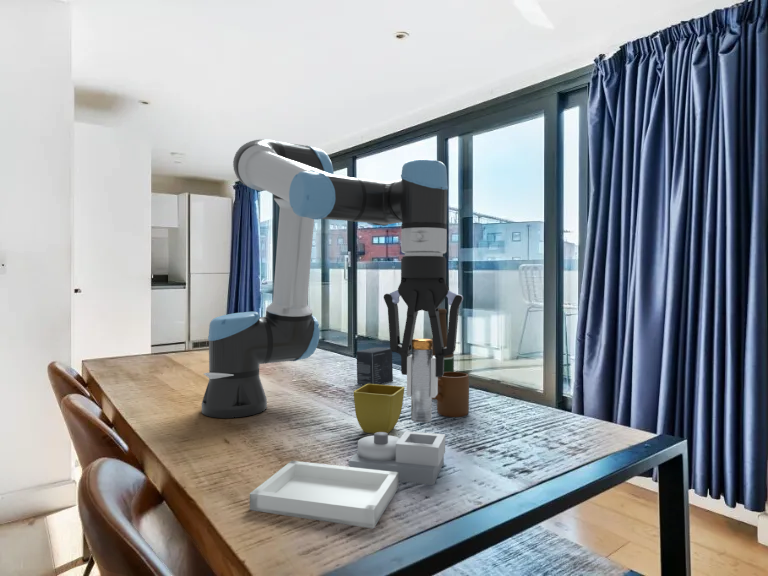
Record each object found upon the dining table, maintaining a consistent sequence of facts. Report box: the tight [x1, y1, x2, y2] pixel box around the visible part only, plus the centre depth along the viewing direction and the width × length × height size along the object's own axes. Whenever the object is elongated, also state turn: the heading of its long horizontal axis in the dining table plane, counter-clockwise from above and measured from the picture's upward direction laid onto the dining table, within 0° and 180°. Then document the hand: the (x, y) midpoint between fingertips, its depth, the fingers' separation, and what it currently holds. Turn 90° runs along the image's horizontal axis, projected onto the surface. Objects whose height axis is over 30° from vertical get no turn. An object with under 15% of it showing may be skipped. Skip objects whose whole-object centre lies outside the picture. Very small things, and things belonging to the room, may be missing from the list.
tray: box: [249, 460, 399, 529], centre depth 73 cm, size 18×13×2 cm
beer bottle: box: [431, 307, 455, 372], centre depth 138 cm, size 8×8×24 cm
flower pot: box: [352, 384, 406, 434], centre depth 106 cm, size 9×9×9 cm
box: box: [355, 346, 394, 386], centre depth 154 cm, size 11×7×10 cm, turn 144°
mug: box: [432, 371, 470, 418], centre depth 119 cm, size 12×8×9 cm, turn 121°
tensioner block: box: [348, 430, 446, 486], centre depth 85 cm, size 14×10×6 cm
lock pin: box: [410, 338, 433, 424], centre depth 84 cm, size 3×3×13 cm
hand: (422, 394), depth 84 cm, fingers closed on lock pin, 3 cm apart
